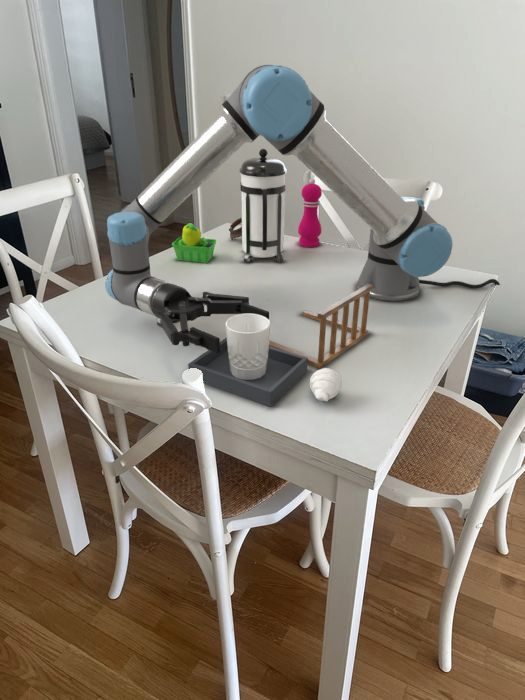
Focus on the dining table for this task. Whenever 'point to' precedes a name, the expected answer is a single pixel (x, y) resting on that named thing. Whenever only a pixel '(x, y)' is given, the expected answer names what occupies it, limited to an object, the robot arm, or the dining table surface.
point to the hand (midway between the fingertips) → (244, 331)
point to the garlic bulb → (325, 384)
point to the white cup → (248, 345)
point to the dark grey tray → (264, 390)
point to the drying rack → (323, 318)
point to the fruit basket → (193, 245)
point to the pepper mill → (310, 215)
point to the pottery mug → (236, 232)
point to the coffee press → (263, 207)
